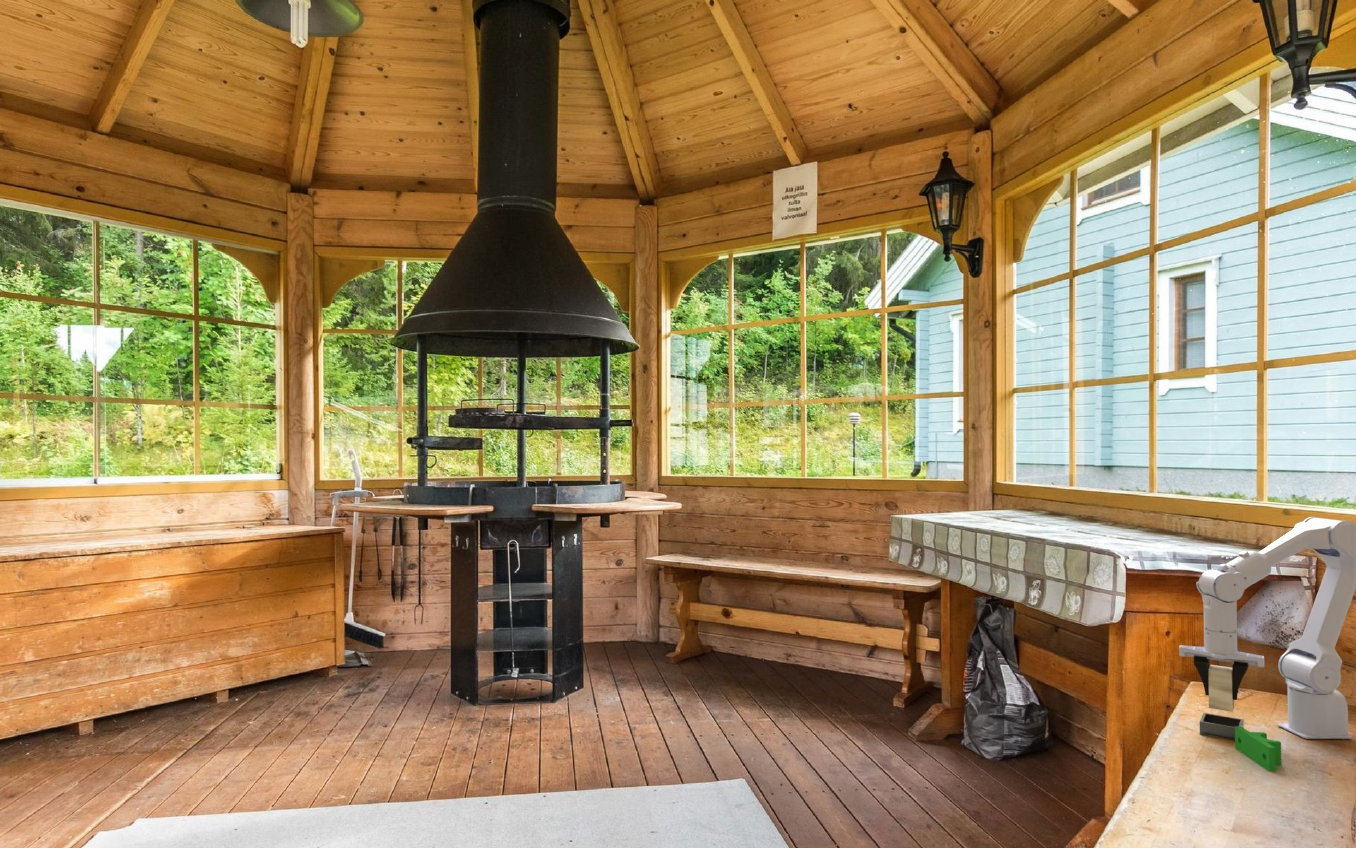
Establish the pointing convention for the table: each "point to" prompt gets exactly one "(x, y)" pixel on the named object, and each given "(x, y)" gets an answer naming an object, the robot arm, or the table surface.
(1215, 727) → the dark gray open tray
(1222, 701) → the rail post
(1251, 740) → the pipe clamp
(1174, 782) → the table surface
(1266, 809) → the table surface
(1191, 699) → the table surface
